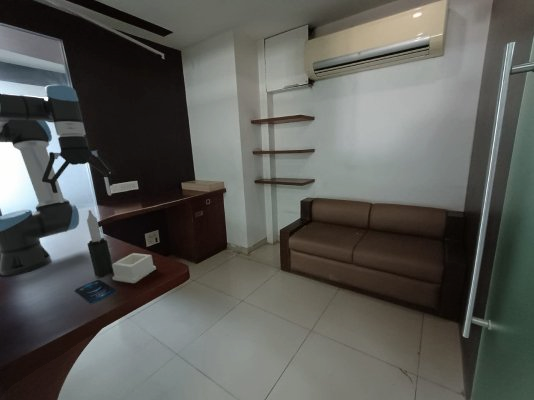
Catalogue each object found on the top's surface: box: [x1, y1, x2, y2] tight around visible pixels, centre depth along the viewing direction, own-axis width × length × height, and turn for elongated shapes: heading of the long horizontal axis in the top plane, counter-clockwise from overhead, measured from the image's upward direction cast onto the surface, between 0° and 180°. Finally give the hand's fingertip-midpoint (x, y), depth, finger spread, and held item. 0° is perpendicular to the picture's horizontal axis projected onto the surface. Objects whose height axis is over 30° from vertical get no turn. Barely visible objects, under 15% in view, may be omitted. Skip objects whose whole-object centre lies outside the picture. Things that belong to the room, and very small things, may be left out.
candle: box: [86, 209, 114, 278], centre depth 86 cm, size 5×5×25 cm
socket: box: [111, 252, 157, 284], centre depth 86 cm, size 10×10×6 cm
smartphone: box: [74, 279, 118, 305], centre depth 78 cm, size 8×1×15 cm
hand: (87, 198), depth 83 cm, fingers open, 13 cm apart
